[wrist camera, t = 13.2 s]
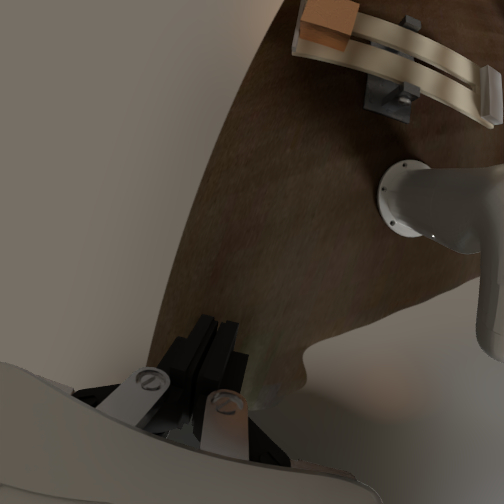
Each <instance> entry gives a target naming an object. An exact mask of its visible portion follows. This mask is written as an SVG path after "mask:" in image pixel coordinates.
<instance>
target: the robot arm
mask: <svg viewBox="0 0 504 504" xmlns="http://www.w3.org/2000/svg"><path fill="white" fill-rule="evenodd" d="M403 164H404V167H403ZM382 188H384V190H383V191H382ZM377 204H378V208H379V212H380V214H381V217H382V219H383V220H384V222H385V223H386V225H387V226H388V227H389V228H390V229H391V230H393V231H394V232H396V233H398V234H400V235H402V236H405V237H418V236H421V235H424V236H426V237H428V238H430V239H432V240H434V241H436V242H438V243H440V244H442V245H444V246H446V247H448V248H450V249H452V250H454V251H456V252H459V253H462V254H473V253H477V252H480V253H481V256H480V268H481V273H480V288H479V298H478V308H477V317H476V337H477V341H478V344H479V346H480V347H481V349H482V350H483V351H484V352H485V353H486V354H487V355H488V356H490V357H491V358H493V359H494V360H496V361H499V362H502V363H504V164H500V165H496V166H491V167H485V168H458V169H454V168H450V169H431V168H430V167H429V166H427V165H426V164H424V163H422V162H420V161H416V160H403V161H400V162H397V163H395V164H393V165H392V166H391V167H389V168H388V169H387V170H386V172H385V173H384V174H383V176H382V178H381V180H380V182H379V186H378V191H377ZM391 221H392V223H391V224H390V222H391ZM217 327H218V321H215V320H214V317H212V316H208V315H204V314H202V315H201V317H200V318H199V320H198V322H197V323H196V325H195V327H194V328H193V330H192V332H191V333H190V335H189V336H188V338H183V337H180V336H178V337H177V338H176V339H175V341H174V342H173V344H172V345H171V347H170V348H169V350H168V351H167V353H166V354H165V356H164V357H163V359H162V360H161V362H160V363H159V364H158V366H157V368H153V367H144V368H141V369H138V370H137V371H135V372H134V373H133V374H132V375H131V376H130V377H128V378H127V379H126V380H125V381H124V382H123V383H122V384H116V385H110V386H103V387H96V388H89V389H82V390H78V391H77V392H76V391H74V388H72V387H69V386H66V385H63V384H60V383H57V382H54V381H52V380H49V379H46V378H44V377H41V376H38V375H35V374H33V373H31V372H29V371H27V370H25V369H23V368H20V367H18V366H15V365H12V364H8V363H4V362H0V504H383V502H382V500H381V498H380V496H379V495H378V494H377V493H376V491H375V490H373V489H372V488H371V487H369V486H367V485H365V484H363V483H361V482H359V481H357V480H356V478H355V476H354V475H352V474H351V473H349V472H347V471H344V470H339V469H334V468H330V467H325V466H322V465H318V464H314V463H310V462H307V461H303V460H299V459H298V461H294V460H291V459H289V457H288V456H287V455H286V454H285V452H283V451H282V450H281V449H280V448H279V447H278V446H277V445H276V444H275V443H274V442H273V441H272V440H271V439H270V438H269V437H268V436H267V435H266V434H265V433H264V432H263V431H262V430H261V429H260V428H259V427H258V426H257V425H256V424H255V423H254V422H253V421H252V420H251V419H250V418H249V417H248V405H247V401H246V400H245V398H244V397H243V396H242V395H240V391H241V386H242V382H243V378H244V374H245V369H246V365H247V361H248V356H249V355H247V354H243V353H239V352H235V351H233V350H234V345H235V341H236V336H237V331H238V327H239V323H236V322H232V321H228V320H227V321H226V323H223V322H222V323H221V325H220V327H219V329H218V331H217ZM192 414H193V418H192V426H194V427H193V434H194V435H195V437H196V438H197V439H198V441H199V442H200V446H199V449H197V448H194V447H191V446H187V445H184V444H181V443H177V442H174V441H172V440H169V439H166V438H167V436H168V434H169V430H172V429H176V428H178V429H182V426H183V424H184V423H186V424H188V423H189V422H190V419H191V417H192Z"/></svg>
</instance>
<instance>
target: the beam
mask: <svg viewBox="0 0 504 504" xmlns="http://www.w3.org/2000/svg"><path fill="white" fill-rule="evenodd" d="M307 2H308V1H307V0H301V3H300V8H299V13H298V18H297V23H296V28H295V33H294V38H293V43H292V55H294V56H299V57H305V58H310V59H315V60H319V61H324V62H328V63H332V64H336V65H340V66H344V67H348V68H351V69H355V70H358V71H362V72H365V73H368V74H371V75H375V76H378V77H381V78H383V79H386V80H389V81H392V82H395V83H397V84H401V83H403V82H404V81H406V82H408V83H411V84H413V85H416V86H418V87H420V93H422V94H424V95H426V96H429V97H431V98H433V99H435V100H437V101H439V102H442V103H444V104H446V105H448V106H450V107H452V108H454V109H455V110H457V111H459V112H461V113H463V114H465V115H467V116H468V117H470V118H472V119H474V120H475V121H477V122H479V123H480V124H482V125H484V126H485V127H487V128H489V129H491V128H493V125H497V124H503V98H502V82H501V74H500V73H499V72H497V71H496V70H494V69H493V68H492V67H490V66H489V65H487V66H485V67H483V68H481V67H479V66H478V65H476V64H475V63H473V62H471V61H470V60H468V59H466V58H465V57H463V56H461V55H460V54H458V53H456V52H454V51H452V50H450V49H449V48H447V47H445V46H443V45H441V44H439V43H437V42H435V41H433V40H431V39H429V38H427V37H424V36H422V35H420V34H418V33H415V32H413V31H411V30H408V29H406V28H403V27H401V26H398V25H396V24H393V23H390V22H387V21H385V20H382V19H379V18H376V17H373V16H369V15H366V14H363V13H359V12H358V13H357V16H356V20H355V23H354V26H353V30H352V33H351V35H352V36H356V37H359V38H363V39H366V40H369V41H372V42H375V43H378V44H381V45H384V46H387V47H390V48H393V49H395V50H398V51H400V52H403V53H405V54H408V55H410V56H413V57H415V58H417V59H420V60H422V61H424V62H426V63H429V64H431V65H433V66H435V67H437V68H439V69H441V70H443V71H445V72H447V73H449V74H451V75H453V76H454V77H456V78H458V79H460V80H462V81H463V82H465V83H467V84H469V85H470V86H472V91H471V90H470V89H468V88H466V87H464V86H463V85H461V84H459V83H457V82H455V81H454V80H452V79H450V78H448V77H446V76H444V75H442V74H440V73H438V72H436V71H434V70H432V69H430V68H427V67H425V66H423V65H421V64H419V63H416V62H414V61H411V60H409V59H407V58H404V57H402V56H399V55H396V54H394V53H391V52H388V51H385V50H383V49H380V48H377V47H374V46H371V45H367V44H364V43H361V42H357V41H354V40H350V39H349V41H348V44H347V46H346V48H345V51H344V52H342V51H339V50H336V49H333V48H330V47H327V46H324V45H321V44H318V43H315V42H311V41H308V40H304V39H301V38H300V19H301V17H302V14H303V12H304V9H305V7H306V4H307Z"/></svg>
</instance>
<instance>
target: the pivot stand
mask: <svg viewBox="0 0 504 504" xmlns="http://www.w3.org/2000/svg"><path fill="white" fill-rule="evenodd" d="M398 26H401V27H403V28H406V29H408V30H411V31H413V32H415V33H417V32H418V31H419V30H420V29H421V21H419V20H417V19H414V18H412V17H410V16H407V15H405V17H404V18H403V19H402V21H401V22H400V24H399V25H398ZM370 45H371V46H374V47H377V48H380V49H383V50H385V51H388V52H391V53H394V54H396V55H399V56H402V57H404V58H407V59H409V60H411V61H414V57H413V56H410V55H408V54H405V53H403V52H400V51H398V50H395V49H393V48H390V47H387V46H384V45H381V44H378V43H375V42H372V41H370ZM419 97H420V87H418V86H416V85H413V84H411V83H408V82H406V81H404V82H403V83H401V84H397V83H395V82H392V81H389V80H386V79H383V78H381V77H378V76H375V75H371V74H368V73H367V81H366V89H365V96H364V104H363V109H364V110H368V111H371V112H374V113H377V114H380V115H383V116H386V117H389V118H392V119H394V120H397V121H400V122H402V123H405V124H409V119H410V110H411V102H412V101H414V100H416V99H417V98H419Z"/></svg>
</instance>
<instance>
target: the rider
mask: <svg viewBox="0 0 504 504" xmlns="http://www.w3.org/2000/svg"><path fill="white" fill-rule="evenodd" d="M359 5H360V4H358V3H355V2H353V1H350V0H308V2H307V4H306V7H305V9H304V12H303V14H302V17H301V19H300V38H301V39H304V40H308V41H311V42H315V43H318V44H321V45H324V46H327V47H330V48H333V49H336V50H339V51H342V52H344V51H345V48H346V46H347V44H348V41H349V39H350V36H351V33H352V30H353V26H354V23H355V20H356V16H357V13H358V9H359Z"/></svg>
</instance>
